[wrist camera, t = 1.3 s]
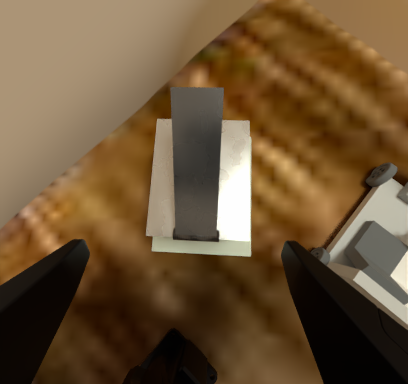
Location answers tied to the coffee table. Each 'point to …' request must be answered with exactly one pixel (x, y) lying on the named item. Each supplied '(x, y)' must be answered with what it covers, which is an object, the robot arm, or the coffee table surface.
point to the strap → (196, 161)
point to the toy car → (376, 245)
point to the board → (208, 247)
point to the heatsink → (228, 182)
